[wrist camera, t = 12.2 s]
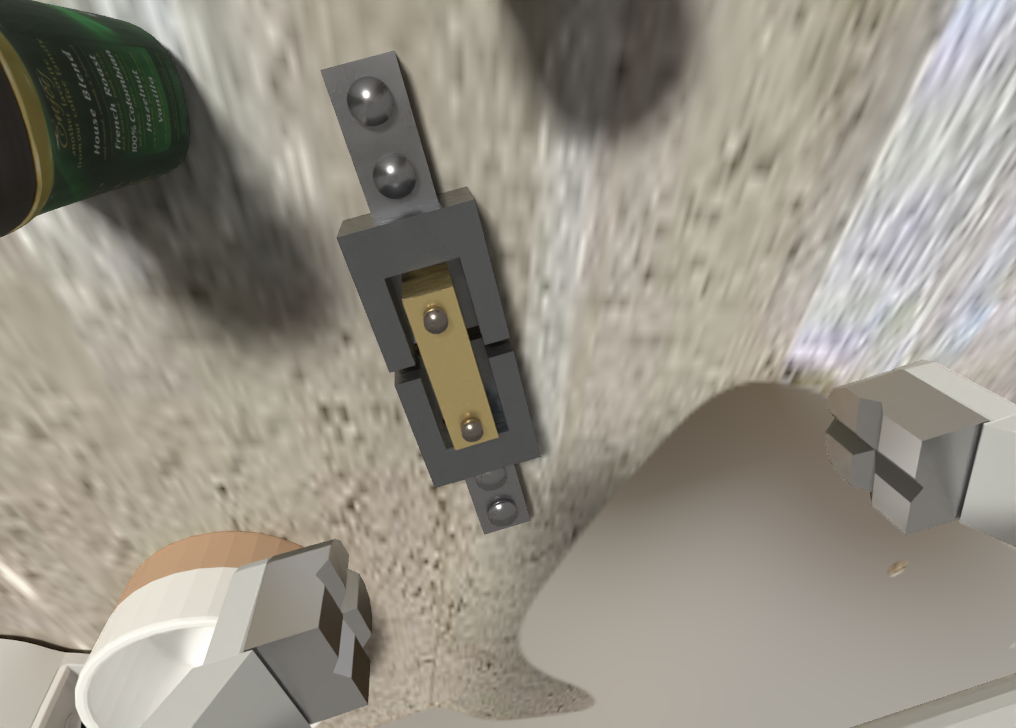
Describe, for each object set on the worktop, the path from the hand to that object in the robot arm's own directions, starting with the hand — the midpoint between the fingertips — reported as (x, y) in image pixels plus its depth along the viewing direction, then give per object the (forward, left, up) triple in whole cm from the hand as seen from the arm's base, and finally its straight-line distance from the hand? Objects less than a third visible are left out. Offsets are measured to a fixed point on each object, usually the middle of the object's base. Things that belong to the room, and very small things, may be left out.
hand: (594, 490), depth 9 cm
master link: (-10, +3, -28) cm, 30 cm away
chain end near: (-5, +3, -29) cm, 30 cm away
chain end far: (-15, +3, -29) cm, 33 cm away
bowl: (-29, +27, -30) cm, 49 cm away
